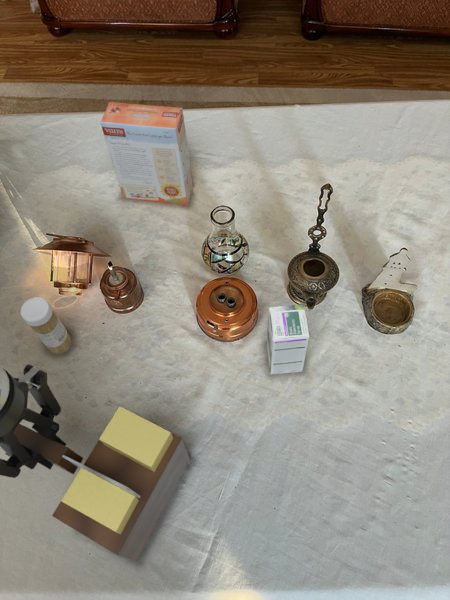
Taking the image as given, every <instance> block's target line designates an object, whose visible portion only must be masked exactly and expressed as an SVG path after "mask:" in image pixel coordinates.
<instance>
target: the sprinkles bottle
mask: <svg viewBox="0 0 450 600" xmlns="http://www.w3.org/2000/svg"><path fill="white" fill-rule="evenodd" d="M20 316H21V318H22V319H23V321H24V322H25V324H27V325H28V326H29V327H30V328H31V329H32V330H33V332H34V333H35V335H36V336H37V337H38V338H39V339H40V341H41V342H42V343H43V344H44V345H45V347H46V348H47V349H48V351H50V352H51V353H52V354H56V355H59V354H62V353H65V352H66V351H67V350H68V349H70V346H72V339H73V338H72V337H71V335H70V334H69V332H68V330H67V329H66V327H65V326H64V324H63V323H62V321H61V319H59V317H58V316H57V315H56V313H55V311H53V307H52V306H51V304H50V303H49V301H48V300H47V299H46V298H44V297H41V296H34V297H33V296H32V297H31V298H29V299H26V300H25V301H24V303H22V305H21V307H20Z"/></svg>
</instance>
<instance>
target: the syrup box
mask: <svg viewBox="0 0 450 600" xmlns="http://www.w3.org/2000/svg"><path fill="white" fill-rule="evenodd" d="M309 341H310V330H309V325H308V319H307V312H306V307H305V304H304V303H303V304H288V305H279V306H271V307H268V315H267V334H266V352H267V358H268V366H269V374H271V375H278V374H289V373H300V372H301V373H302V372H303V370H304V366H305V362H306V357H307V352H308V346H309Z"/></svg>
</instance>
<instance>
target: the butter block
mask: <svg viewBox="0 0 450 600" xmlns="http://www.w3.org/2000/svg"><path fill="white" fill-rule="evenodd" d="M171 433H172V432H171V431H169V430H167V429H165V428H163V427H161V426H159V425H157V424H156V423H153V422H151V421H150V420H148V419H146V418H144V417H142V416H140V415H138V414H136V413H134V412H133V411H131V410H128V409H126V408H124V407H123V406H121V405H119V406H118V408H117V409H116V411H115V413H114V414H113V415H112V417H111V419H110V420H109V422H108V424H107V425H106V427H105V429H104V430H103V431H102V433H101V434H100V437H99V438H98V441H99V440H100V441H101V442H102V443H103V444H104V445H105V446H107V447H109V448H111V449H113V450H114V451H116V452H118V453H120V454H122V455H124V456H126V457H127V458H129V459H131V460H133V461H135V462H137V463H138V464H140V465H142V466H144V467H146V468H148V469H150V470H151V471H153V472H155V471H156V469H157V467H158V465H159V464H160V462H161V460H162V458H163V456H164V455H165V453H166V451H167V449H168V447H169V446H170V444H171V442H172V440H173V436H172V434H173V433H172V434H171Z"/></svg>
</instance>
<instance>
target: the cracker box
mask: <svg viewBox="0 0 450 600" xmlns="http://www.w3.org/2000/svg"><path fill="white" fill-rule="evenodd" d="M100 126H101V130H102V132H103V136H104V139H105V142H106V146H107V150H108V152H109V153H108V154H109V156H110V159H111V162H112V165H113V169H114V173H115V175H116V179H117V182H118V186H119V189H120V191H121V194H122V198H123V199H126V200H134V201H143V202H149V203H150V202H151V203H152V202H153V203H159V204H168V205H169V204H170V205H178V206H179V205H180V206H188V205H189V203H190V199H191V195H192V193H193V188H194V184H193V183H194V182H193V175H192V168H191V161H190V153H189V147H188V145H189V144H188V139H187V137H188V136H187V132H186V131H187V130H186V125H185V115H184V109H183V107H175V106H164V105H152V104H151V105H150V104H140V103H139V104H138V103H128V102H127V103H126V102H116V101H108V103H107V105H106V108H105V111H104V113H103V116H102V118H101V120H100Z"/></svg>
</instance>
